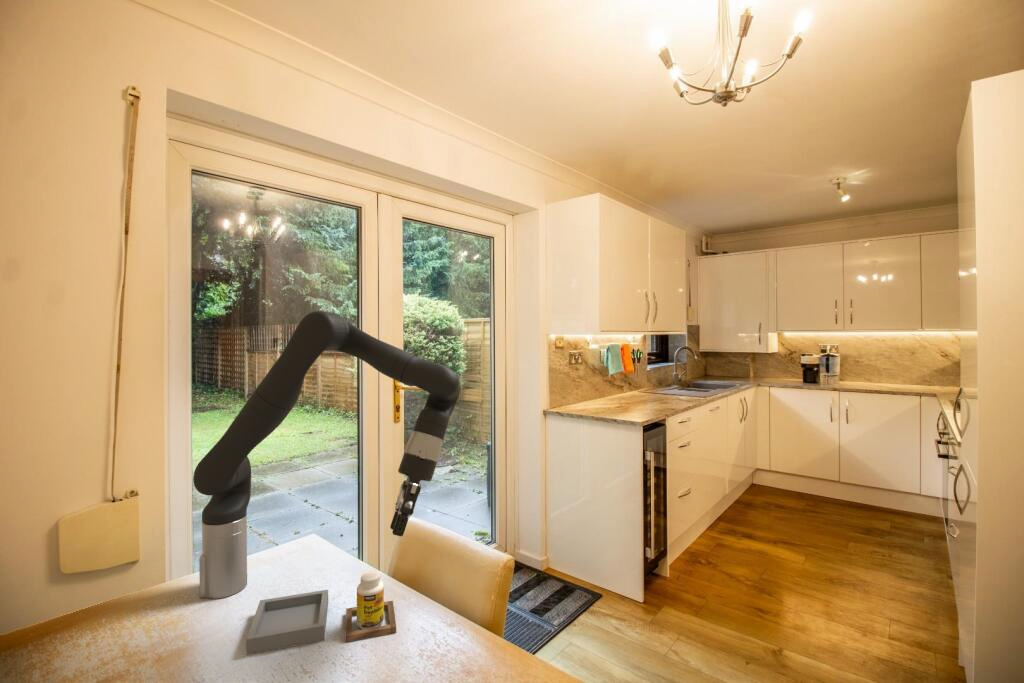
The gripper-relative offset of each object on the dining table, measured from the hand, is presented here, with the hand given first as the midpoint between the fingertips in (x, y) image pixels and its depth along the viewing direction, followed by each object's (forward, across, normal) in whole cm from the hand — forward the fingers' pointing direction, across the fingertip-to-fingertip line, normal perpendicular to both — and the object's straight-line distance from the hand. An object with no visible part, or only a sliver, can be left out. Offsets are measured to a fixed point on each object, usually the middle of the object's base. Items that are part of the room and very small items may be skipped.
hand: (395, 532), depth 98 cm
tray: (+24, -13, -14) cm, 30 cm away
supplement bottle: (+20, -9, +2) cm, 22 cm away
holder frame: (+19, -9, +2) cm, 21 cm away
